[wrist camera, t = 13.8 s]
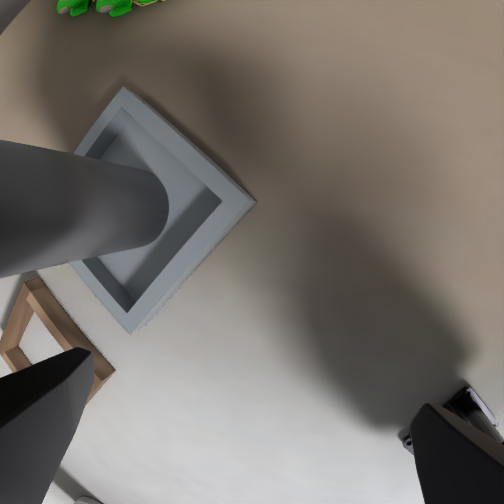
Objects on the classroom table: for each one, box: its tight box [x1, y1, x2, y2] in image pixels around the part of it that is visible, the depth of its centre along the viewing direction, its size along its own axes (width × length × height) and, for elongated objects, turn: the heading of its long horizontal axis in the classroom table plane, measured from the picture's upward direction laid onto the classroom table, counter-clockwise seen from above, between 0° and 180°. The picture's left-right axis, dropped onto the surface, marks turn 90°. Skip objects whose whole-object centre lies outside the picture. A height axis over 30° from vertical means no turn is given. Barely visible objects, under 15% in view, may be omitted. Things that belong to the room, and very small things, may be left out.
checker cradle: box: [0, 278, 116, 404], centre depth 22 cm, size 10×10×2 cm
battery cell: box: [0, 140, 169, 278], centre depth 13 cm, size 5×5×14 cm
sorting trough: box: [69, 86, 257, 335], centre depth 19 cm, size 11×11×2 cm
